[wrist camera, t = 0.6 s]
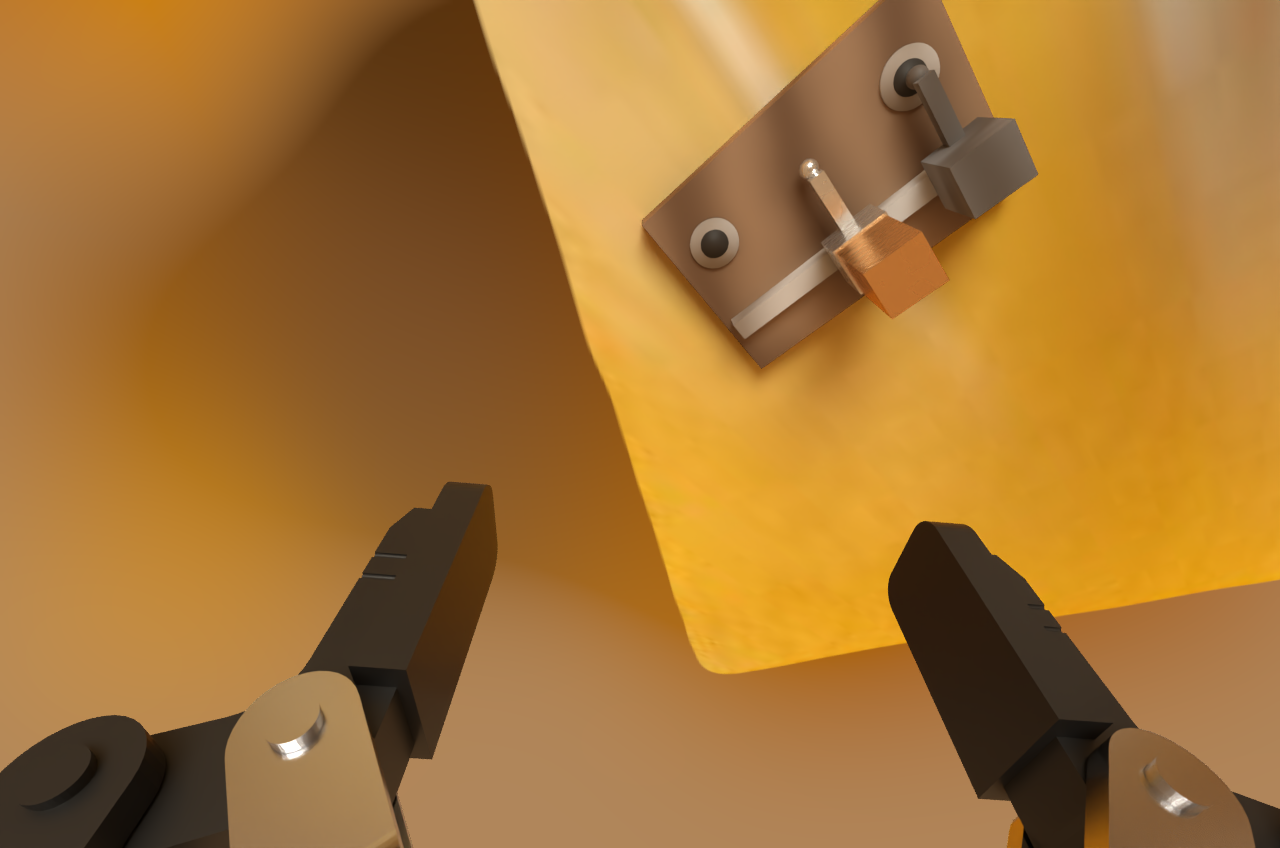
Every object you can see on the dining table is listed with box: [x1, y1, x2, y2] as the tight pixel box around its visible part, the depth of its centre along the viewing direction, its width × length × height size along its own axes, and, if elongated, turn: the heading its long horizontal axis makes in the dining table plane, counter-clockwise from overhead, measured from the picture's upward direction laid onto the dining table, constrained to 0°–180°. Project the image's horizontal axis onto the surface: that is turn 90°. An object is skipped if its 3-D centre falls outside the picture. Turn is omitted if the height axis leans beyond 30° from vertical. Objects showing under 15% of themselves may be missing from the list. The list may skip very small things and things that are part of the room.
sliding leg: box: [799, 158, 949, 319], centre depth 25 cm, size 3×7×7 cm, turn 41°
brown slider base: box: [642, 0, 1038, 369], centre depth 27 cm, size 17×12×6 cm
